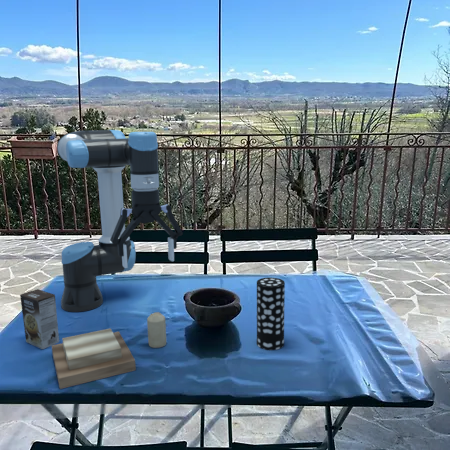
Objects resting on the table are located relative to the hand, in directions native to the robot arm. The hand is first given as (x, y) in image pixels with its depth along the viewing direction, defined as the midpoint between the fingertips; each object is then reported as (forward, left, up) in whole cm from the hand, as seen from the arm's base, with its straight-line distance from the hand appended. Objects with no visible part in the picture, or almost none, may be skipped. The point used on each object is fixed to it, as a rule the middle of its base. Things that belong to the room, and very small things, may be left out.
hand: (148, 263), depth 128 cm
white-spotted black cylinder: (+11, +34, -28) cm, 45 cm away
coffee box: (-23, -29, -28) cm, 47 cm away
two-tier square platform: (-3, -17, -28) cm, 33 cm away
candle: (-5, +3, -28) cm, 29 cm away
